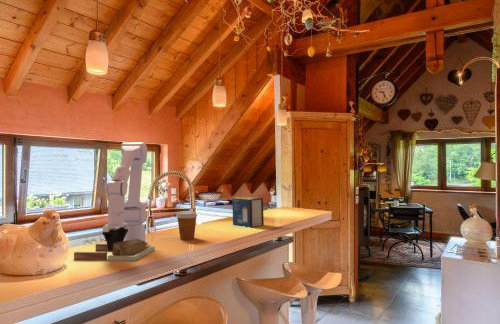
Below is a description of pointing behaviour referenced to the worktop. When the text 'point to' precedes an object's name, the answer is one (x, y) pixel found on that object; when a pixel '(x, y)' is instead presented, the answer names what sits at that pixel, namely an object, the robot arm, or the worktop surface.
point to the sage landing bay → (132, 258)
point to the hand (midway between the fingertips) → (115, 249)
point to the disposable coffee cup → (186, 225)
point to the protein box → (248, 211)
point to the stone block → (128, 247)
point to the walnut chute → (93, 253)
